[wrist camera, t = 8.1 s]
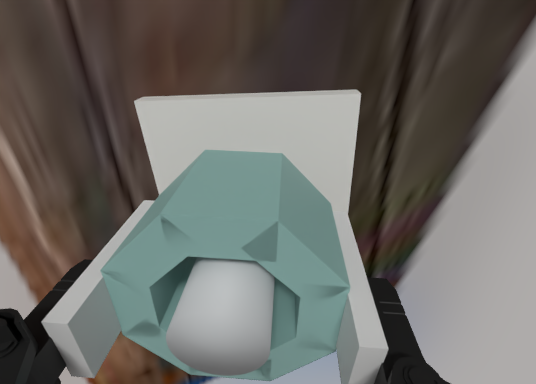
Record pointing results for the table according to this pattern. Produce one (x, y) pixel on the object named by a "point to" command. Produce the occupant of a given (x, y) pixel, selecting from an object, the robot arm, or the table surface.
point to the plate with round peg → (250, 140)
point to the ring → (236, 255)
